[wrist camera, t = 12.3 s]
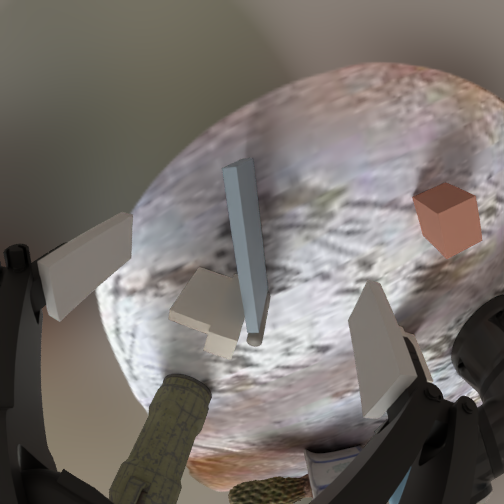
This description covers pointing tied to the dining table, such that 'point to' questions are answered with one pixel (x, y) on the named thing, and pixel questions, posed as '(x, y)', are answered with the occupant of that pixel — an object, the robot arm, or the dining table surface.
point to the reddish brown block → (448, 218)
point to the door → (248, 245)
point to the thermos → (163, 444)
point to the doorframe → (226, 313)
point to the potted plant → (296, 480)
